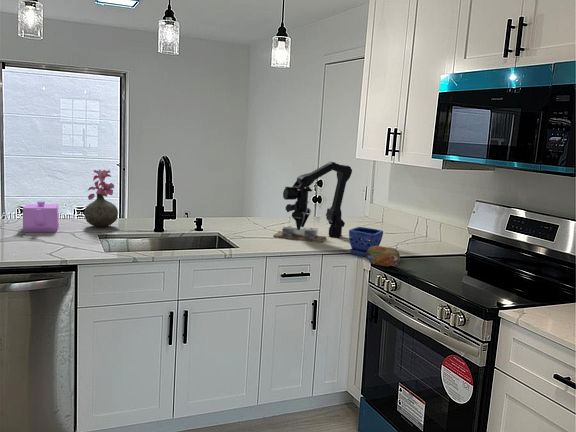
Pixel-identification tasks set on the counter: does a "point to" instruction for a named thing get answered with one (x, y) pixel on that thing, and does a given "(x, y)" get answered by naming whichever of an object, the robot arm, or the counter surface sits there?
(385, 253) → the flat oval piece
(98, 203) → the vase
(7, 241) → the counter surface
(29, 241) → the counter surface
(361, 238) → the flower pot
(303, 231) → the white bar
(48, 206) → the pink lidded box
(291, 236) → the cradle board
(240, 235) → the counter surface
